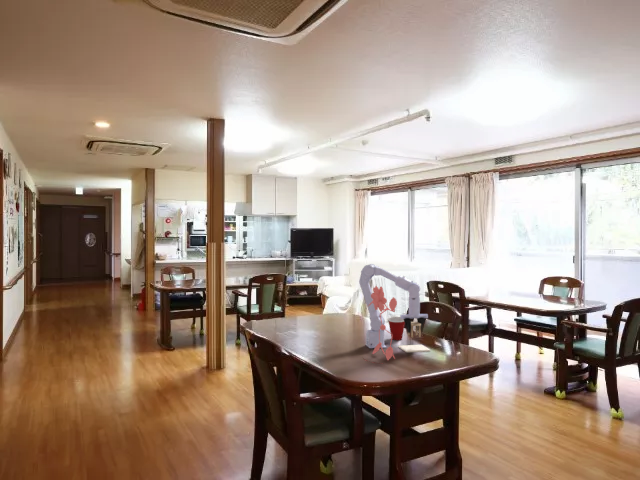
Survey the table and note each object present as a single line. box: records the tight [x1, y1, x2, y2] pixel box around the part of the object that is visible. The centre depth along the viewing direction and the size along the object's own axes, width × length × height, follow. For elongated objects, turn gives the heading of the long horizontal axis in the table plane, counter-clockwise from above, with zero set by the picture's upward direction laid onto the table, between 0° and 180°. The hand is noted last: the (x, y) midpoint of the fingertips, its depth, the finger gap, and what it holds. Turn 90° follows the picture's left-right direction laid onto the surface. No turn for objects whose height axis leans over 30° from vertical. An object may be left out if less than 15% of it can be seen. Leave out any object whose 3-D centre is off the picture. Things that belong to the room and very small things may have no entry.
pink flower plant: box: [362, 285, 398, 365], centre depth 211 cm, size 15×26×35 cm, turn 24°
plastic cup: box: [386, 316, 406, 341], centre depth 251 cm, size 11×11×12 cm
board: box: [398, 344, 431, 353], centre depth 229 cm, size 13×11×1 cm
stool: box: [407, 321, 422, 338], centre depth 228 cm, size 5×5×7 cm
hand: (414, 332), depth 229 cm, fingers closed on stool, 5 cm apart
